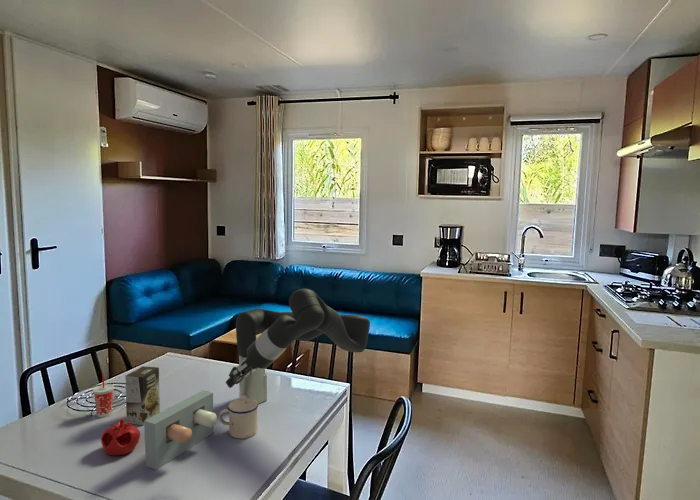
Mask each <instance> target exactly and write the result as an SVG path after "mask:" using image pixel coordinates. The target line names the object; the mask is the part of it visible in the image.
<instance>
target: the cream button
mask: <svg viewBox="0 0 700 500" xmlns="http://www.w3.org/2000/svg"><path fill="white" fill-rule="evenodd" d="M217 420H218V415H217V414H216V413H215V412H213V413H212V412H209V411H205V410H202V409H197V410H195V411H193V422H194V423H197V424H201V425H204V426H207V427H212V426H215V424H216V422H217Z"/></svg>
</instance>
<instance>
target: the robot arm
mask: <svg viewBox="0 0 700 500" xmlns="http://www.w3.org/2000/svg"><path fill="white" fill-rule="evenodd" d="M288 306H289V309H290V311H273V310H269V309H264V308H252V309H249V310H246V311H243V312H240V313H239V314H238V315H237V317H236V320H235V334H236V336H235V337H236V347H237V350H238V358H239V359H238V362H239V363H238V365H237V366H233V367H232V368H231V370H230V372H229V374H228V376H229V378H228V379H227V380H226V381H225V385H227V386H228V388H229V389H231V388H233V387H234V386H235V385H238V384H239V385H238V386H239V388H238V389H239V391H238V393H239V396H238V397H239V398H240V396H242V395H245V396H246V397H247V398H251V399H254V400H256V401H257V403H258V405H259V404H261V403H263V402H266V401H267V400H268V375H267V373H266V369H267V368H268V367H270V366H271V365H272V364H273V363H274V362H275V361H276V360H277V359H278V358H279V357H281V355H282V354H283V353H284V352H285V351H286V349H287V348H288V347H289V346H290V345H291V344H292V343H293V342H294V341H300V342H301V341H302V342H306V341H307V342H308V341H312V340H314V339H316V338H318V337H320V336H321V335H323V334H324V335H325V336H327V337H328V339H330V341H331V342H332V343H334V344H335V345H336V346H337V347H338V348H340V349H341V350H343V351H346V352H349V353H350V352H351V353H362V352H364V351H366V348H367V346H368V345H367V344H368V340H369V332H370V327H371V326H370V325H371V321H370V320H369V318H368V317H365V316H362V315H357V314H339V311H338V312H337V310H334V308H332V307H330V306H328V305H327V304H326V303H325V301H324V300H323V299H322V298H321V297H320V296H319V295H318V294H317V293H316V292H315V291H314V290H312V289H309V288H299V289H297V290H295V291H293V292H292V293H291V294H290V297H289V299H288ZM258 335H259V336H258ZM239 398H238V399H239Z"/></svg>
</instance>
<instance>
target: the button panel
mask: <svg viewBox="0 0 700 500" xmlns="http://www.w3.org/2000/svg"><path fill="white" fill-rule="evenodd" d="M197 409H202V410H205V411H209V412H212V413H214V393H213V392H212V391H207V390H204V389H203V390H200V391H199V392H197V393H194V394H193V395H191V396H189V397H187V398H185V399H183V400H181V401H179V402H178V403H175V404H174V405H171V406H170V407H168V408H166V409H165V410H162V411H160V413H158V414H156V415H154V416H152V417H150V418H148V419H147V420H145V421H144V425H143V426H144V450H145V451H144V452H145V453H144V455H145V458H144V459H145V467H147V468H150V469H153V470H155V471H157V470H159V469H160V468H162V467H164V466H165V465H166V464H168V463H169V462H171V461H173V460H174V459H176V458H177V457H178V456H180V455H182V454H183V453H185V452H186V451H188V450H189V449H191V448H192V447H194V446H195V445H197V444H199V443H200V442H202V441H203V440H205V439H206V438H208V437H209V436H211V435H212V434H214V432H215V430H214V428H215V427H214V426H215V425H214V426H212V427H207V426H204V425H201V424H197V423H194V422H193V411H195V410H197ZM172 423H174V424H177V425H180V426H184V427H187V428H190V429H191V430H192V436H191V438H190V440H189V441H188V442H187V443H185V444H183V443H180V442H177V441H174V440H171V439H168V438H166V427H167V426H169V425H170V424H172Z"/></svg>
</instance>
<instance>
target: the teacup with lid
mask: <svg viewBox="0 0 700 500" xmlns="http://www.w3.org/2000/svg"><path fill="white" fill-rule="evenodd" d="M258 407H259V404H258V403H257V401H256V400H254V399H251V398H247V397H246V396H245V395H242V396H240V398H237V399H234V400H232V401H230V403H229V404H228V406H227V408H225V409H222V410H221V411H220V412H219V413H218V417H219V421H220V422H221V424H222V425H224V426H229V427H228V433H229V435H230V436H231V437H233V438H235V439H249V438H251V437H252V436H254V435H256V433H257V432H258ZM224 413H228V421H226V420H225V419H224V418H223V414H224Z"/></svg>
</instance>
